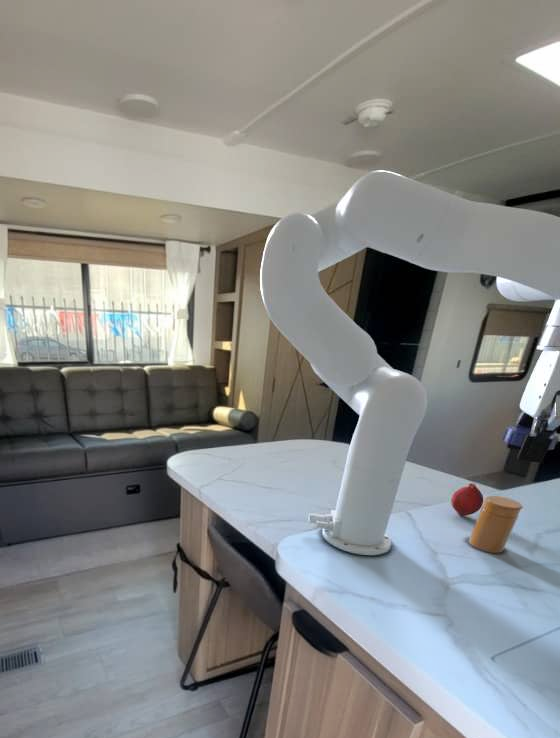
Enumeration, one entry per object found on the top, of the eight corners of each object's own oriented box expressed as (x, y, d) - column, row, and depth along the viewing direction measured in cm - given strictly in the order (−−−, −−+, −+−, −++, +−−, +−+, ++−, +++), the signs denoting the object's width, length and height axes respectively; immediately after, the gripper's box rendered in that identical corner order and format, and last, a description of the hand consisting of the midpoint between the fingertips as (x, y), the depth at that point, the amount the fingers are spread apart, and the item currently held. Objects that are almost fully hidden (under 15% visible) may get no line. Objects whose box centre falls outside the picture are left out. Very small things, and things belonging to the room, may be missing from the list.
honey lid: (520, 437, 72) (525, 425, 71) (563, 448, 66) (570, 435, 65) (492, 439, 70) (497, 426, 69) (535, 451, 64) (541, 437, 63)
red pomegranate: (453, 508, 95) (465, 476, 92) (481, 517, 91) (494, 484, 87) (441, 513, 92) (453, 481, 89) (469, 523, 88) (482, 490, 84)
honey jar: (476, 551, 77) (494, 506, 73) (463, 537, 82) (480, 494, 78) (508, 554, 76) (529, 509, 72) (494, 540, 81) (512, 497, 77)
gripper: (633, 345, 52) (569, 474, 60) (581, 340, 66) (534, 445, 74) (560, 341, 55) (508, 465, 63) (525, 337, 69) (486, 439, 77)
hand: (523, 453), depth 69 cm, fingers closed on honey lid, 6 cm apart
